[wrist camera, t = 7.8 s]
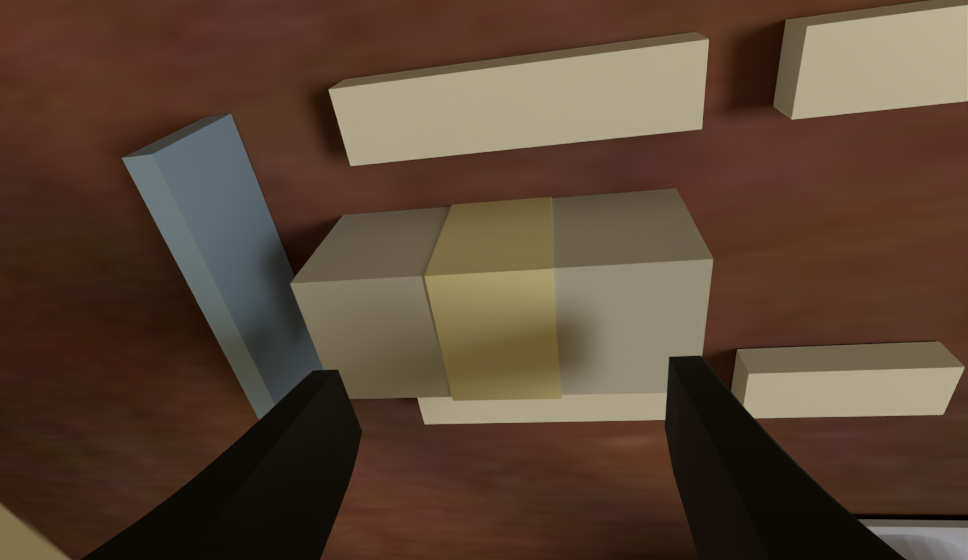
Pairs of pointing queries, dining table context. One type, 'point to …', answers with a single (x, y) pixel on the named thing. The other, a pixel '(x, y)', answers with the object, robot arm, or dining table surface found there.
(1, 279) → the dining table surface
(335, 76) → the dining table surface
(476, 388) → the banded cream box
